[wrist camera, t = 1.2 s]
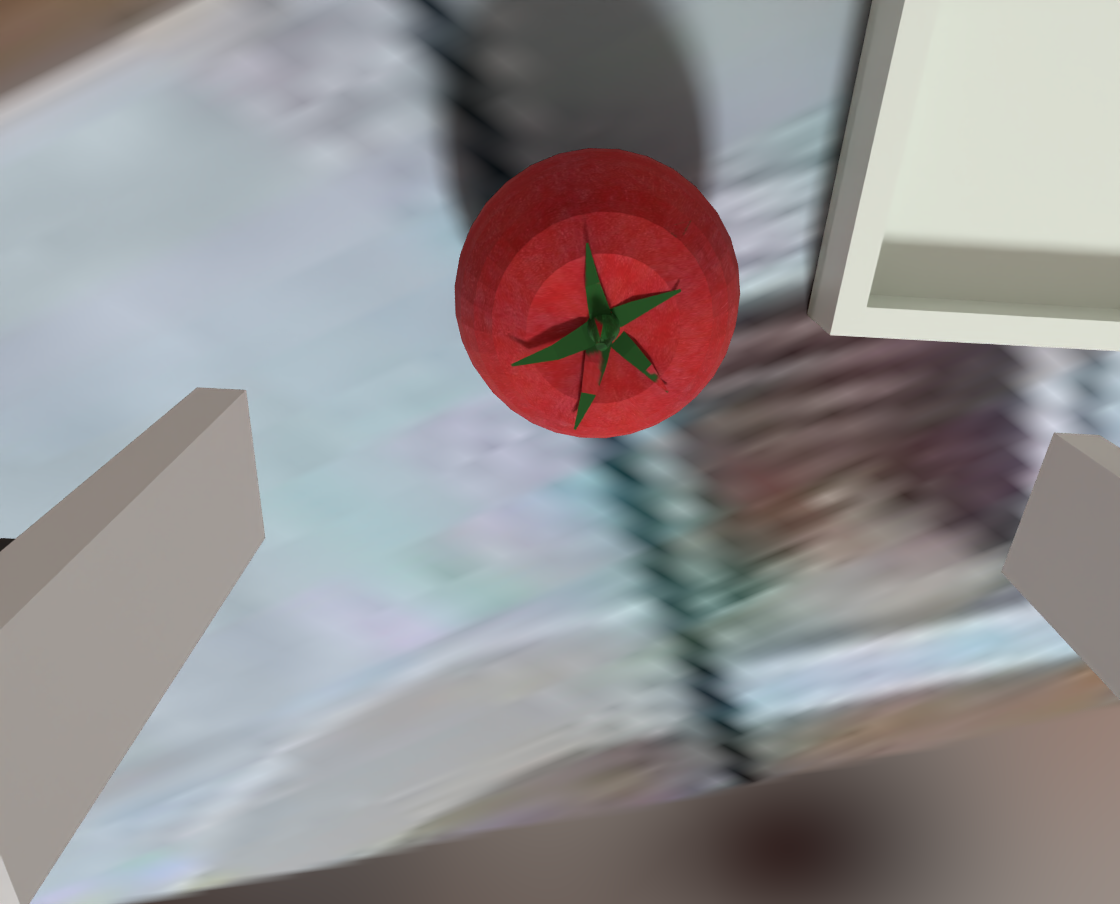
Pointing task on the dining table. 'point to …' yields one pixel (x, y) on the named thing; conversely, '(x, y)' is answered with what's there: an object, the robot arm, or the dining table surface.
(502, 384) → the tomato
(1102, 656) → the robot arm
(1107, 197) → the tray
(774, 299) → the dining table surface
